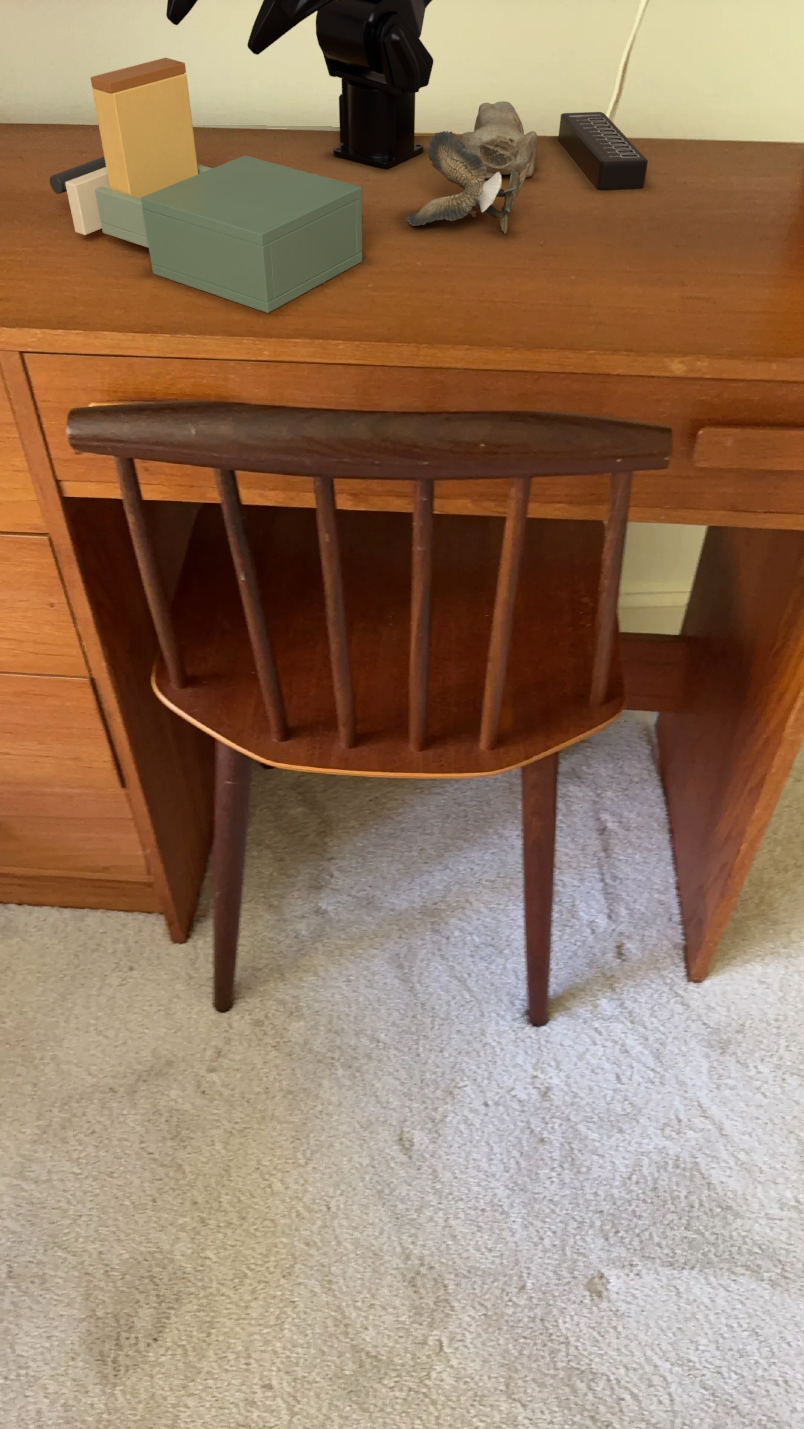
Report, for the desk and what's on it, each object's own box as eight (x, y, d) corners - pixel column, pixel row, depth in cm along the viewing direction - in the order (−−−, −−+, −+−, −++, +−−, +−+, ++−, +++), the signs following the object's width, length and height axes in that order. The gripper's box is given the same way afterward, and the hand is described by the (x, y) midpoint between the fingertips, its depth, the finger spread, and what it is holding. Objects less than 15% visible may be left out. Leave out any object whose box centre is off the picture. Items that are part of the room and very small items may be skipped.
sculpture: (453, 144, 104) (458, 185, 93) (458, 90, 101) (464, 125, 90) (523, 150, 105) (537, 191, 93) (531, 96, 102) (546, 131, 90)
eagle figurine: (526, 196, 89) (428, 162, 90) (536, 136, 82) (430, 100, 83) (495, 271, 88) (396, 237, 89) (502, 217, 81) (395, 180, 82)
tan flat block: (182, 195, 86) (164, 56, 79) (203, 202, 85) (186, 62, 78) (113, 219, 82) (88, 76, 75) (134, 227, 81) (110, 82, 74)
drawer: (34, 218, 85) (23, 168, 82) (127, 182, 91) (119, 135, 88) (170, 264, 79) (162, 212, 76) (259, 222, 85) (255, 172, 82)
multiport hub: (598, 189, 94) (601, 162, 92) (557, 138, 104) (559, 112, 102) (645, 187, 94) (649, 160, 93) (599, 136, 104) (603, 110, 103)
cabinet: (152, 273, 80) (140, 197, 76) (251, 227, 87) (244, 154, 83) (268, 313, 75) (261, 234, 71) (362, 261, 82) (361, 186, 78)
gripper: (150, -280, 75) (60, -64, 78) (340, -242, 68) (233, -5, 71) (239, -156, 85) (156, 31, 88) (413, -112, 78) (317, 91, 81)
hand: (210, 35), depth 81 cm, fingers open, 9 cm apart
